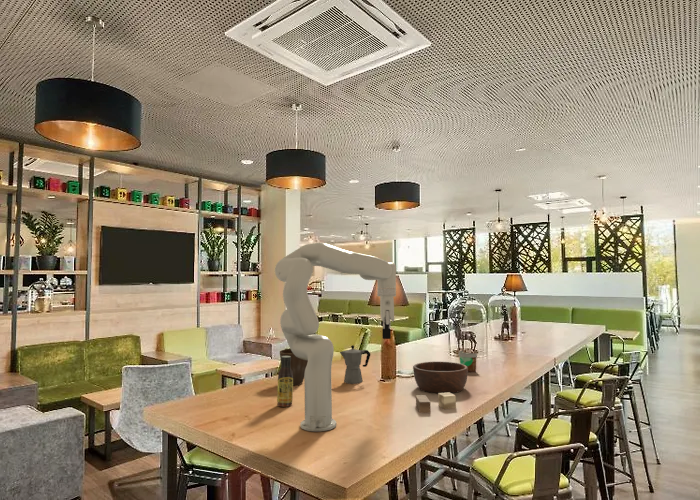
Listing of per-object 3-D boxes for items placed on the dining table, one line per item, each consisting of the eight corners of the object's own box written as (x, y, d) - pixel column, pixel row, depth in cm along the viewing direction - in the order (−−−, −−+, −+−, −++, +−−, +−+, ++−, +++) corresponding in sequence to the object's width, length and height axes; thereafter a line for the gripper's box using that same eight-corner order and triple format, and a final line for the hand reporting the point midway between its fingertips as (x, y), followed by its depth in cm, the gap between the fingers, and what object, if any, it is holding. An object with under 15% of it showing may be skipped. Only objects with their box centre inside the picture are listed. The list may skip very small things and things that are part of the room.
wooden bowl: (403, 386, 215) (402, 364, 216) (444, 380, 227) (444, 359, 227) (436, 398, 193) (435, 374, 194) (480, 390, 204) (479, 367, 205)
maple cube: (456, 408, 178) (455, 395, 178) (444, 409, 177) (444, 396, 177) (449, 404, 183) (449, 392, 183) (438, 406, 181) (438, 393, 182)
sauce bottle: (278, 408, 182) (277, 358, 183) (276, 404, 188) (276, 355, 189) (294, 406, 183) (293, 357, 185) (292, 402, 189) (291, 354, 191)
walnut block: (425, 405, 183) (430, 412, 173) (415, 405, 182) (420, 412, 172) (425, 395, 183) (430, 402, 173) (415, 395, 183) (419, 402, 173)
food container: (454, 369, 252) (453, 351, 253) (462, 368, 255) (462, 350, 256) (468, 373, 241) (468, 354, 242) (477, 372, 244) (477, 353, 244)
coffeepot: (339, 384, 222) (338, 346, 223) (340, 379, 231) (340, 344, 232) (370, 384, 221) (370, 346, 222) (371, 379, 230) (370, 343, 231)
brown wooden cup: (312, 380, 231) (312, 348, 232) (307, 387, 216) (306, 353, 217) (283, 380, 233) (283, 348, 234) (276, 387, 218) (276, 353, 219)
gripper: (397, 293, 176) (397, 341, 175) (394, 292, 191) (394, 336, 189) (378, 293, 176) (378, 340, 175) (376, 292, 191) (376, 336, 190)
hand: (386, 338), depth 182 cm, fingers closed
